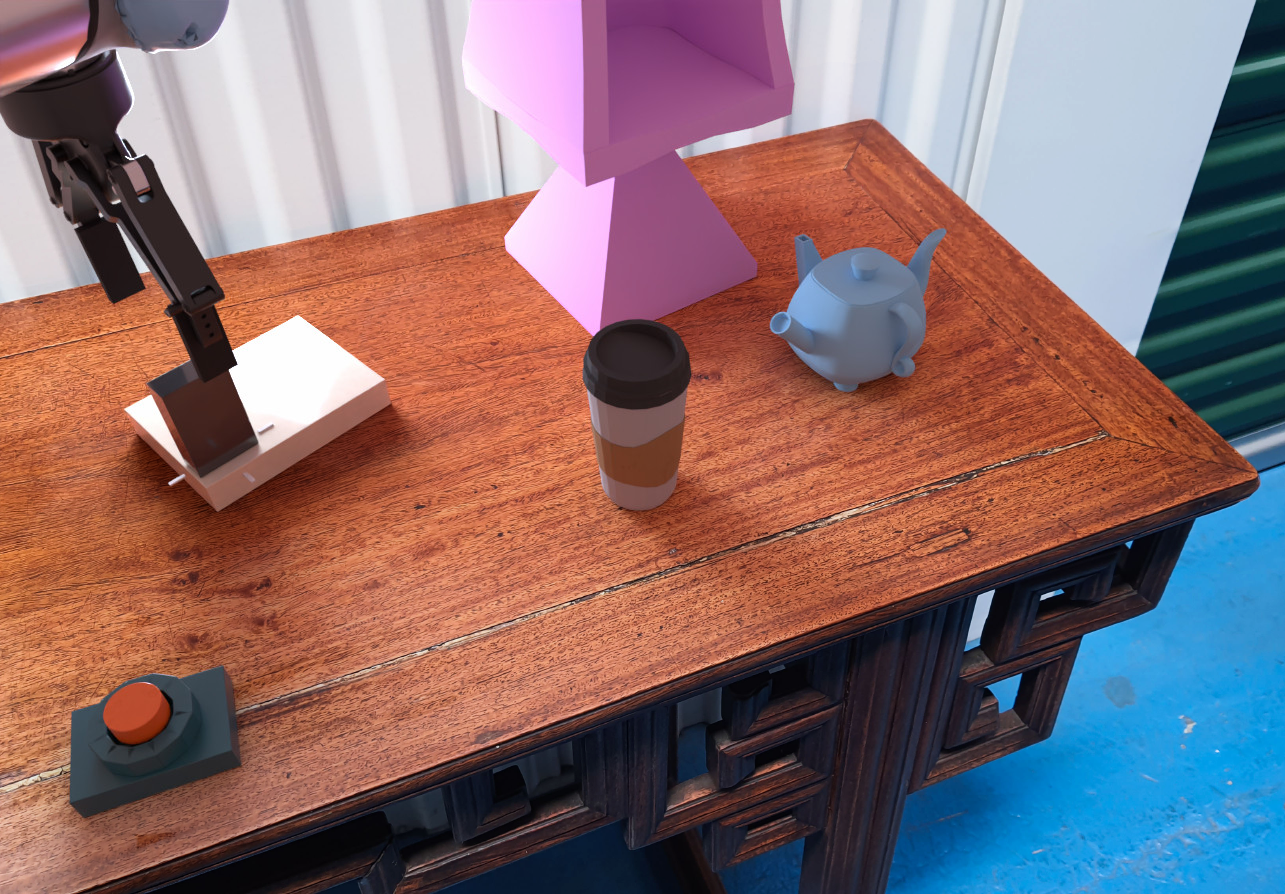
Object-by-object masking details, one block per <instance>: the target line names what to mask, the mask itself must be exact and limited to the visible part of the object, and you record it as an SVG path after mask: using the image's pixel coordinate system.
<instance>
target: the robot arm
mask: <svg viewBox="0 0 1285 894" xmlns="http://www.w3.org/2000/svg"><path fill="white" fill-rule="evenodd" d="M229 5H230V0H0V117H1V118H2V120H3V122H4V124H5V126H6V127H7V129H8V130H9V131H11V133H13V134H15V135H17V136H18V137H21V138H23V139H26V140H30V141H31V143H32V146H33V150H34V153H35V156H36V159H37V163H38V165H39V169H40V173H41V176H42V179H43V182H44V185H45V189H46V191H47V195H48V197H49V198H48V199H49V201H50V204H52V205H53V206H54V207H55V208H56V209H60V208H62V211H63V212H62V214H63V216H64V218H65V220H66V221H67V222H69V223H70V224H71V225H72V226H74V225H77V226H76V228H74V229H73V230H74V232H75V234H76V236H77V238H78V240H79V243H80V244H81V245H80V246H81V247H82V249H83V250H84V253H85V255H86V257H87V259H88V261H89V263H90V264H91V266H92V269H93V271H94V273H95V275H96V277H97V279H98V281H99V283H100V285H101V287H102V289H103V291H104V294H105V296H106V297H107V299H108V301H109V302H110V303H112V304H113V305H115V304H117V303H119V302H121V301H124V300H126V299H127V298H130V297H132V296H134V295H136V294H139V293H140V292H142V291H145V290H146V289H147V287H146V285H145V282H144V280H143V278H142V277H141V274H140V272H139V270H138V268H137V265H136V263H135V261H134V258H133V257H132V255H131V253H130V250H129V248H128V246H127V244H126V242H125V239H124V236H123V234H122V233H121V231H120V229H121V230H122V232H123V233H124V235H125V236H126V238H127V239H128V241H129V242H130V244H131V246H132V247H133V248H134V250H135V251H136V253H137V255H139V257H140V259H141V260H142V262H143V263H144V265H145V266H146V268H147V269H148V270H149V272H150V274H151V275H152V276H153V278H154V279H155V281H156V283H157V284H158V285H159V286H160V288H161V290H162V291H163V293H164V294H165V295H166V297H167V298H168V300H169V302H170V303H168V304H167V305H166V307H165V308H164V310H163V311H162V312H163V314H165V316H166V317H167V318H169V319H171V318H172V321H173V323H174V325H175V327H176V329H177V332H178V334H179V336H180V338H181V341H182V343H183V345H184V348H185V350H186V352H187V354H188V357H189V360H191V361H192V363H193V366H194V368H195V370H196V372H197V375H198V377H199V379H200V380H201V381H203V382H204V383H206V382H208V381H210V380H212V379H213V378H215V377H217V376H219V375H221V374H222V373H224V372H226V371H228V370H230V369H232V368H233V367H235V366H237V365H238V362H237V360H236V357H235V355H234V352H233V348H232V345H231V342H230V340H229V338H228V335H227V333H226V330H225V327H224V325H223V322H222V320H221V318H220V316H219V313H218V310H217V308H216V304H218V303H219V302H221V301H224V300H225V299H226V295H225V292H224V290H223V288H222V286H221V285H220V284H219V282H218V280H217V279H216V277H215V275H214V273H213V272H212V270H211V268H210V266H209V264H208V263H207V261H206V259H205V258H204V256H203V254H202V252H201V251H200V249H199V247H198V245H197V244H196V242H195V240H194V238H193V237H192V235H191V232H190V231H189V229H188V228H187V226H186V224H185V222H184V221H183V218H182V217H181V216H180V214H179V212H178V210H177V208H176V207H175V205H174V203H173V201H172V200H171V197H170V196H169V194H168V192H167V191H166V189H165V186H164V184H163V182H162V180H161V178H160V175H159V173H158V171H157V168H156V167H155V162H154V161H153V159H152V158H150V157H149V156H148V154H146V153H143V154H140V155H138V154H137V152H136V151H135V150H134V148H133V147H132V145H131V144H130V142H129V140H128V139H126V138H125V137H123V138H121V135H120V134H118V133H117V132H118V131H117V129H118V127H119V125H120V123H121V121H122V120H123V119H124V118H125V117H126V116H127V115H128V114H129V113H130V111H132V108H133V106H134V102H135V95H134V92H133V89H132V86H131V84H130V81H129V79H128V76H127V74H126V70H125V69H124V66H123V64H122V63H123V62H122V61H121V59H120V56H119V54H118V51H117V50H118V49H133V50H134V49H135V50H139V51H142V52H144V53H146V54H149V53H150V54H157V53H160V52H165V51H166V52H168V51H190V50H196V49H199V48H202V47H204V46H206V45H207V44H208V43H210V42H212V40H213V39H214V38H215V37H216V36H217V34H218V33H219V31H220V29H221V27H222V26H223V24H224V22H225V20H226V18H227V13H228V10H229ZM118 201H119V202H118ZM115 202H116V203H115ZM100 214H101V216H100Z"/></svg>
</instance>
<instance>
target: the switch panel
mask: <svg viewBox="0 0 1285 894" xmlns="http://www.w3.org/2000/svg"><path fill="white" fill-rule="evenodd" d="M232 350H233V349H232ZM233 352H234V355H235V357H236V360H237V362H238V365H237V366H235V367H233V368H232V369H230V370H229V371H230V373H231V376H232V378H233V381H234V383H235V386H236V388H237V390H238V393H239V395H240V398H241V400H242V403H243V405H244V408H245V410H246V413H247V415H248V417H249V420H250V422H251V425H252V427H253V430H254V432H255V435H256V437H257V439H258V442H259V444H257V445H255V446H254V447H252V448H250V449H249V450H247V451H245V452H244V453H242V454H240V455H239V456H237V457H235V458H234V459H232V460H230V461H229V462H227V463H225V464H224V465H222V466H220V467H219V468H217V469H215V470H214V471H212V472H210V473H209V474H207V475H205V476H204V477H202V478H200V477H199V476H198V475H197V474H196V473H195V472H194V471H192V470H191V469H190V468H189V467H188V466H187V465H186V464H185V462H184V460H183V458H182V456H181V454H180V452H179V450H178V448H177V446H176V444H175V442H174V440H173V438H172V436H171V434H170V432H169V430H168V428H167V426H166V424H165V422H164V420H163V417H162V415H161V413H160V411H159V409H158V407H157V405H156V403H155V401H154V399H153V397H152V395H151V394H149V395H148V396H146V397H144V398H142V399H141V400H139V401H136V402H135V403H132V404H131V405H129V406H127V407H125V408H124V409H123V411H124V412H125V414H126V416H127V418H128V420H129V422H130V423H131V426H132V428H133V429H134V431H135V434H137V435H138V436H139V437H140V438H141V439H142V440H143V442H145V444H147V445H148V446H149V447H150V448H151V449H152V450H153V451H154V452H155V453H156V454H157V455H158V456H159V457H160V458H161V459H162V460H164V462H165V463H166V464H168V466H170V467H171V469H173V470H174V471H175V473H177V474H178V475H179V476H177V477H176V478H173V479H172V480H171V481H169V482H168V483H167V484H168V485H169V486H170V487H172V486H174V485H176V484H177V483H179V482H181V481H183V480H184V481H185V482H186V483H187V484H188V485H189V486H190V487H191V488H192V489H193V490H194V491H195V492H196V493H198V495H199V496H200V497H202V499H204V501H205V502H206V503H208V504H209V505H210V506H211V507H212V508H213V509H214V510H215V511H216V513H217V512H220V511H222V510H223V509H225V508H227V507H228V506H229V505H231V504H232V503H234V502H236V501H238V500H239V499H241V498H243V497H244V496H245V495H247V494H249V493H250V492H253V491H254V490H255V489H257V488H258V487H260V486H262V485H264V484H265V483H266V482H268V481H269V480H272V479H273V478H274V477H276V476H278V475H279V474H281V473H282V472H284V471H285V470H287V469H289V468H290V467H292V466H293V465H295V464H297V463H298V462H300V461H301V460H304V459H305V458H307V457H308V456H310V455H312V454H313V453H314V452H316V451H318V450H319V449H321V448H322V447H324V446H326V445H327V444H329V443H330V442H332V441H334V440H335V439H337V438H339V437H340V436H342V435H343V434H345V433H346V432H348V431H350V430H351V429H353V428H354V427H356V426H358V425H359V424H361V423H362V422H364V421H366V420H367V419H369V418H370V417H372V416H374V415H375V414H377V413H378V412H380V411H382V410H383V409H385V408H387V407H388V406H390V405H391V404H392V401H391V395H390V393H389V389H388V385H387V382H386V381H387V380H386V379H385V378H384V377H383V376H381V375H379V373H377V372H376V371H374V370H373V369H371V368H370V366H367V365H366V364H365V363H364V362H362V361H361V360H359V358H357V357H356V356H354V355H353V354H351V353H350V352H348V351H347V350H346V349H345V348H343V347H341V346H340V345H339V344H338V343H336V342H335V341H333V340H332V339H331V338H329V337H328V336H327V335H325V334H324V333H322V332H321V331H320V330H319V329H318V328H316V327H314V326H313V325H312V324H310V323H309V322H307V321H306V320H305V319H303V318H302V317H301V316H300V315H296V316H294V317H293V318H290V319H289V320H288V321H286V322H283V323H282V324H280V325H278V326H276V327H274V328H272V329H271V330H269V331H267V332H265V333H263V334H260V335H259V336H258V337H256V338H254V339H252V340H250V341H248V342H246V343H244V344H242V345H240V346H239V347H237V348H235V349H234V350H233Z"/></svg>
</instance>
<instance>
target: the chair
mask: <svg viewBox="0 0 1285 894" xmlns="http://www.w3.org/2000/svg"><path fill="white" fill-rule="evenodd" d="M788 50H789V49H788V46H787V40H786V34H785V27H784V21H783V13H782V2H781V0H471V4H470V11H469V19H468V23H467V28H466V33H465V39H464V43H463V48H462V54H461V63H462V64H461V65H462V71H463V78H464V86H465V89H467V91H469V92H471V93H472V95H474V96H475V97H476V98H477V99H479V100H480V101H481V102H482V103H484V104H485V105H486V106H487V107H488V108H491V109H493V110H494V111H496V112H497V113H499V114H500V115H502V116H504V117H506V118H507V119H509V120H510V121H512V122H513V123H514V125H516V126H517V127H519V128H520V129H521V130H522V131H523V132H525V133H526V134H527V135H528V136H530V138H532V139H533V140H534V141H535V142H536V143H537V144H538V145H539V146H540V147H541V148H542V149H543V150H544V151H545V153H546V154H548V155H549V156H550V157H551V159H552V160H554V162H556V164H557V165H558V166H557V168H556V169H555V170H554V172H553V173H551V176H550V177H549V178H548V179H547V180H546V182H545V183H544V184H543V186H542V187H541V188H540V190H539V191H538V192H537V193H536V195H535V197H534V198H532V200H531V202H530V203H529V204H528V205H527V207H526V208H525V209H524V211H523V212H522V213H521V215H520V216H519V217H518V219H517V220H516V221H515V223H514V224H513V225H512V226H511V228H510V229H509V231H508V232H507V233H506V234H505V236H504V244H505V250H506V252H507V253H508V254H509V255H510V256H512V257H513V258H514V259H515V261H516V262H517V263H518V264H519V265H521V266H522V268H523V269H524V270H526V271H527V272H528V273H529V275H531V276H532V277H533V279H535V281H537V282H538V283H539V284H540V285H541V286H542V288H544V290H546V291H547V292H548V293H549V294H550V295H551V296H552V297H553V298H554V299H555V300H556V301H557V302H558V303H559V304H560V305H561V306H562V307H563V308H564V309H565V310H566V311H567V312H568V313H569V314H570V315H571V316H572V317H573V319H575V320H576V321H577V322H578V323H579V324H580V325H581V326H582V327H583V328H584V329H585V330H586V331H587V332H588V333H589V334H590V335H591V336H592V338H593V337H594V335H595V334H596V333H597V332H598V331H600V330H601V329H603V328H604V327H606V326H608V325H610V324H613V323H615V322H619V321H624V320H630V319H644V320H652V321H656V320H659V319H660V318H663V317H665V316H667V315H670V314H672V313H674V312H677V311H679V310H682V309H684V308H687V307H689V306H692V305H694V304H696V303H698V302H700V301H703V300H706V299H708V298H709V297H712V296H715V295H717V294H719V293H722V292H724V291H726V290H728V289H731V288H733V287H735V286H738V285H740V284H742V283H744V282H747V281H749V280H752V279H754V278H756V277H757V275H758V261H757V260H756V259H755V258H754V256H753V255H752V254H751V252H750V251H749V249H748V248H747V247H746V246H745V244H744V242H743V241H742V240H741V239H740V237H739V236H738V235H737V233H736V231H735V230H734V229H733V227H732V226H731V225H730V223H729V222H728V220H727V219H726V218H725V217H724V215H723V214H722V212H721V210H719V208H718V207H717V205H716V204H715V203H714V202H713V200H712V199H711V198H710V196H709V194H708V193H707V192H706V190H705V189H704V188H703V186H702V185H701V184H700V182H699V181H698V180H697V178H696V177H695V175H694V174H693V172H692V171H691V170H690V169H689V167H688V166H687V165H686V163H685V161H684V160H683V159H682V158H681V156H680V155H679V154H678V152H677V151H676V150H679V149H682V148H684V147H687V146H690V145H693V144H696V143H699V142H701V141H704V140H707V139H710V138H713V137H717V136H721V135H726V134H731V133H735V132H740V131H744V130H749V129H755V128H757V127H760V126H762V125H765V124H767V123H771V122H774V121H776V120H779V119H782V118H785V117H787V116H788V117H789V116H791V115H792V113H793V104H794V96H795V95H794V94H795V85H796V83H795V80H794V74H793V70H792V65H791V60H790V55H789V52H788Z"/></svg>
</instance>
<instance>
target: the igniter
mask: <svg viewBox="0 0 1285 894" xmlns="http://www.w3.org/2000/svg"><path fill="white" fill-rule="evenodd" d="M139 682H145V683H150V684H153V685H155V686H156V687H157V688H158V689H159V690H160V691H161V693H162V694H163V696H164V697H165V699H166V700H167V702H168V703H169V705H170V710H171V713H170V718H169V721H168V723H167V725H166V726H165V728H164V729H163V730H162V731H161V732H160V733H159V734H158V735H157V736H155V737H154V738H152V739H151V740H149V741H146V742H144V743H140V744H133V745H132V744H125V743H122V742H120V741H119V740H118V739H117V738H116V737H115V736H114V734H113V733H112V732H111V731H110V729H109V728H108V727H107V726H106V724H105V722H104V719H103V713H104V709H105V706H106V704H107V702H108V701H109V699H110V698H111V697H112V696H113V695H114V694H115V693H116V692H117V691H119V690H120V689H122V688H124V687H126V686H128V685H130V684H134V683H139ZM234 693H235V691H234V683H233V680H232V678H231V677H230V674H229V673H228V671H227V670H226V668H225V666H224V665H223V664H222V665H219V666H215V667H212V668H209V669H206V670H202V671H199V672H196V673H193V674H189V675H186V676H183V677H178V676H176V675H171V674H163V673H155V672H152V673H148V674H145V675H141V676H138V677H135V678H132V679H128V680H126V681H124V682H122V683H121V684H120V685H118V686H117V687H116V688H114V689H113V690H112V691H110V692H109V693H108V694H106V695H105V696H103V698H102V699H101V700H100V702H98V703H95V704H90V705H89V706H85V707H82V708H79V709H76V710H72V711H71V713H70V714H71V716H70V717H71V718H70V719H71V720H70V757H69V758H70V759H69V760H70V761H69V764H70V765H69V766H70V767H69V771H70V772H69V803H68V804H69V805H70V806H71V807H72V808H73V809H74V810H75V811H76V812H77V813H78V814H79V815H80V816H81V817H82V818H83V819H85V818H89V817H91V816H95V815H99V814H100V813H103V812H106V811H109V810H112V809H115V808H119V807H122V806H124V805H127V804H130V803H131V804H132V803H134V802H137V801H139V800H142V799H143V800H144V799H146V798H149V797H151V796H155V795H158V794H161V793H164V792H166V791H169V790H173V789H176V788H178V787H181V786H182V787H183V786H185V785H188V784H191V783H193V782H196V781H200V780H202V779H206V778H208V777H212V776H215V775H218V774H221V773H225V772H227V771H230V770H233V769H236V768H239V767H242V756H241V747H240V741H239V740H240V738H239V729H238V720H237V711H236V702H235V694H234Z"/></svg>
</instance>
